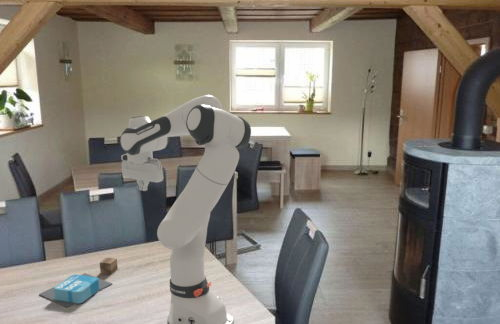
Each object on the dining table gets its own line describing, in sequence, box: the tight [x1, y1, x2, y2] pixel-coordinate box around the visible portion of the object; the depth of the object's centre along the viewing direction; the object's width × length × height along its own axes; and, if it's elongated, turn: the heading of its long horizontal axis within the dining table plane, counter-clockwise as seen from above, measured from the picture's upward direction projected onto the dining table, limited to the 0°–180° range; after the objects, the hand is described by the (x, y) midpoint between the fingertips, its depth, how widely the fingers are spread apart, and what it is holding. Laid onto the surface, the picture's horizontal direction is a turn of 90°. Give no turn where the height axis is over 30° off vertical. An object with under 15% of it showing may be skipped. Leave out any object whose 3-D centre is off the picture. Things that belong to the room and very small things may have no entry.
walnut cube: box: [99, 257, 119, 275], centre depth 176 cm, size 5×5×5 cm
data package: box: [54, 274, 100, 304], centre depth 157 cm, size 12×4×12 cm
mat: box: [38, 272, 113, 308], centre depth 161 cm, size 17×20×1 cm
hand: (143, 190), depth 170 cm, fingers closed
